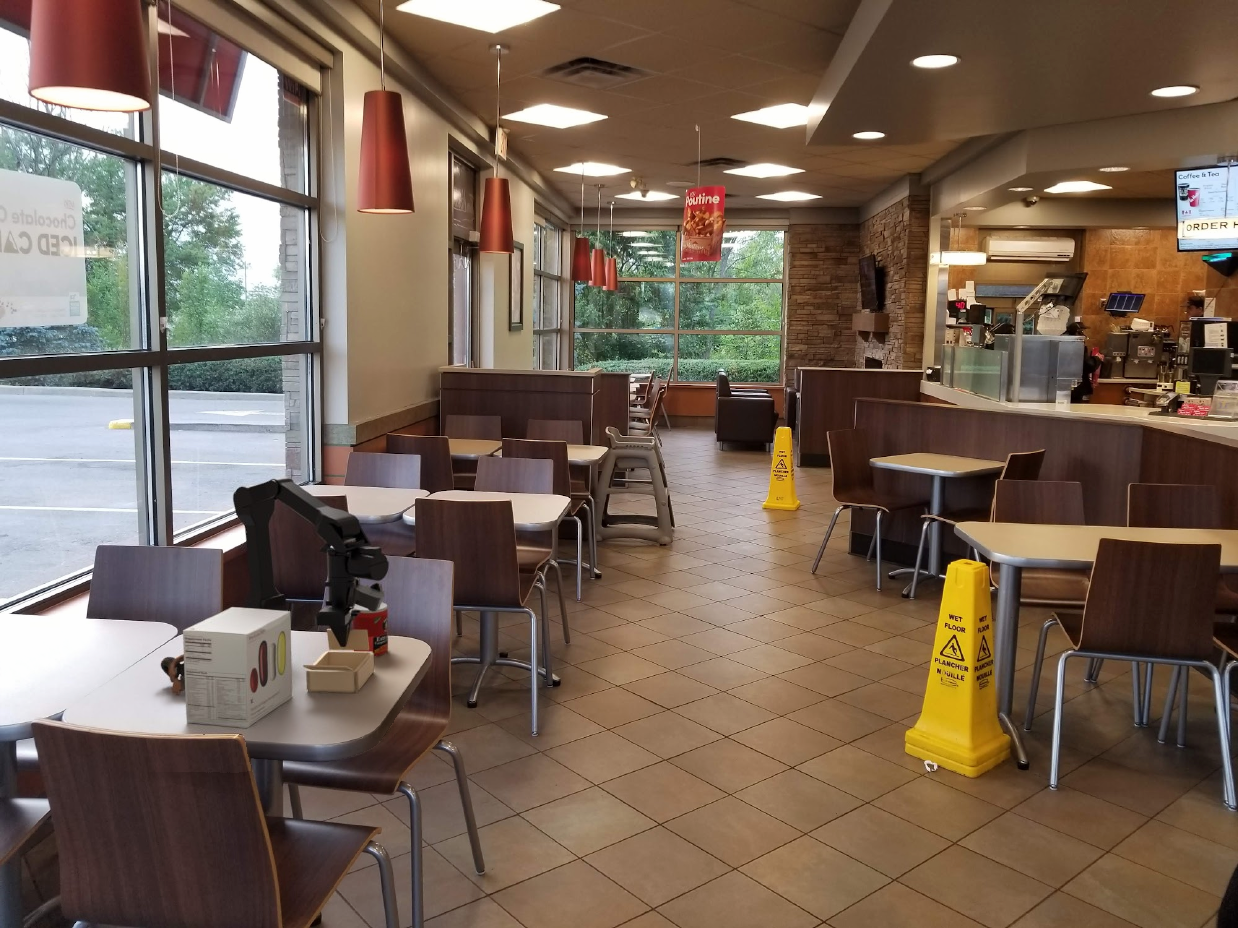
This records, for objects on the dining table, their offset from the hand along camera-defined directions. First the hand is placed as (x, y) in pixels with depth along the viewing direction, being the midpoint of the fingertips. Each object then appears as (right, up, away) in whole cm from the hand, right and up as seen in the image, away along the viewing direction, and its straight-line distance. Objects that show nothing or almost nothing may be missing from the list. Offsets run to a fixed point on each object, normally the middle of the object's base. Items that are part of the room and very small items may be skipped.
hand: (343, 646), depth 209 cm
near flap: (0, -2, -11) cm, 11 cm away
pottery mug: (-31, -8, -6) cm, 32 cm away
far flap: (0, +1, +3) cm, 3 cm away
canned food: (+1, -5, +19) cm, 19 cm away
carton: (0, -7, -1) cm, 7 cm away
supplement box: (-15, -9, -17) cm, 25 cm away
